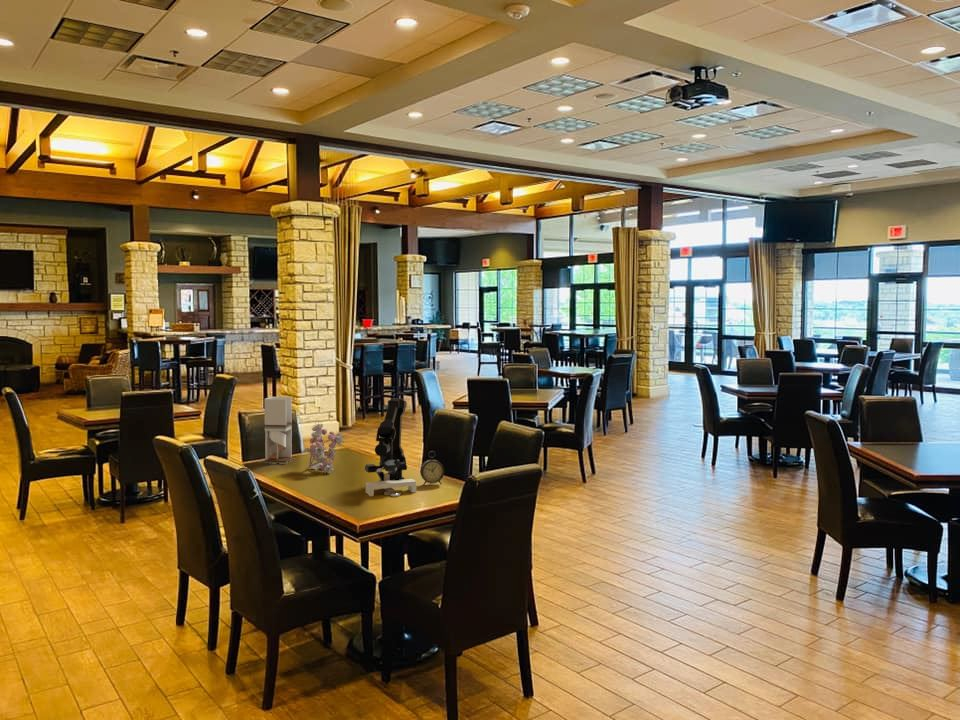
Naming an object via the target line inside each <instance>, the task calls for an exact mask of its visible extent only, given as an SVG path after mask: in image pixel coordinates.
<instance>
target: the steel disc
mask: <svg viewBox="0 0 960 720" xmlns="http://www.w3.org/2000/svg"><path fill="white" fill-rule="evenodd" d="M389 496H390V497H391V496H392V497H391V498H397V497H396V496H399V497H400V496H401V494H400V493H397V492H394V493H390V495H389Z"/></svg>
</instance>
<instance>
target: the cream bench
mask: <svg viewBox="0 0 960 720" xmlns="http://www.w3.org/2000/svg"><path fill="white" fill-rule="evenodd" d="M404 487H405V488H406V487H407V491H409V490H410V491H411V492H410V491H409V492H410V493H412V492H413V493H416V492H417V481H416V480H415V479H413V478H404V479H399V480H389V481H378V480H377V481H367V482H365V494H366V493H367V494H368V495H369V496H368V495H367V494H366V495H367V496H368V497H374V494H375V493H374V491H375V490H381V489H383V488H393V489H395V488H404ZM383 490H384V489H383Z"/></svg>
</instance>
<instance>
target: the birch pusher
mask: <svg viewBox="0 0 960 720" xmlns="http://www.w3.org/2000/svg"><path fill="white" fill-rule="evenodd" d="M383 479H384V481H389V480H390V474H388V472H384V474H383ZM384 489H385V490H386V491H385V490H384ZM383 490H384V491H383V496H390V493H394V492H397V493H402V494H403V490H402V489H398V490H397V489H396V490H395V488H383Z"/></svg>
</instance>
